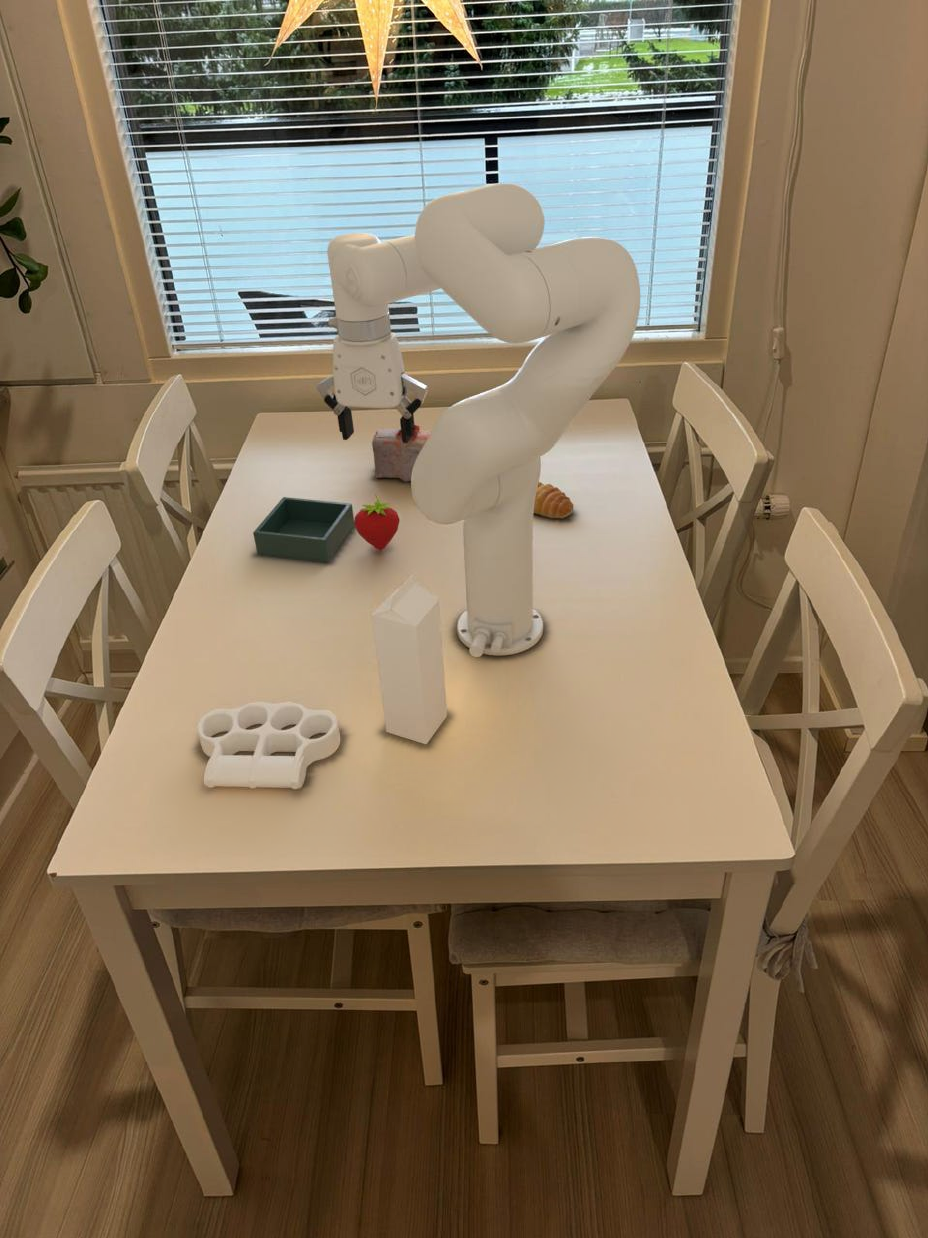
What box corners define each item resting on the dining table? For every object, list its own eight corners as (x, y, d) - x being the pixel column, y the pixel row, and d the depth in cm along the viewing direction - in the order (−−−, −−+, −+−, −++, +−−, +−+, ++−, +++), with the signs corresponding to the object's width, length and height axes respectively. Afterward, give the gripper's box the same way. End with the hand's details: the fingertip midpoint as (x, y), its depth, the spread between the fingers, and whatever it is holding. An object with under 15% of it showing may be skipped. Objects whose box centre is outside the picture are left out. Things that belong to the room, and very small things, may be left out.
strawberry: (357, 541, 159) (351, 489, 153) (401, 538, 159) (396, 486, 153) (357, 560, 154) (350, 507, 148) (402, 556, 154) (397, 503, 148)
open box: (328, 562, 153) (325, 540, 151) (257, 554, 156) (252, 532, 154) (354, 525, 163) (351, 503, 160) (287, 518, 166) (283, 496, 163)
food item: (449, 465, 180) (446, 417, 174) (443, 484, 174) (440, 436, 168) (380, 463, 182) (375, 416, 176) (372, 483, 175) (367, 435, 170)
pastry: (582, 510, 164) (583, 491, 161) (557, 525, 160) (557, 506, 158) (542, 494, 169) (542, 475, 167) (517, 508, 165) (516, 489, 163)
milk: (386, 733, 120) (366, 593, 107) (408, 704, 124) (392, 566, 111) (427, 745, 118) (412, 604, 105) (449, 715, 122) (437, 576, 109)
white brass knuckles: (181, 793, 113) (215, 712, 125) (327, 796, 111) (347, 713, 123) (175, 773, 111) (210, 693, 123) (323, 776, 109) (344, 694, 121)
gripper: (298, 334, 132) (316, 445, 142) (413, 336, 128) (424, 451, 138) (318, 317, 138) (334, 425, 148) (429, 319, 134) (438, 430, 143)
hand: (377, 437), depth 143 cm, fingers open, 9 cm apart
